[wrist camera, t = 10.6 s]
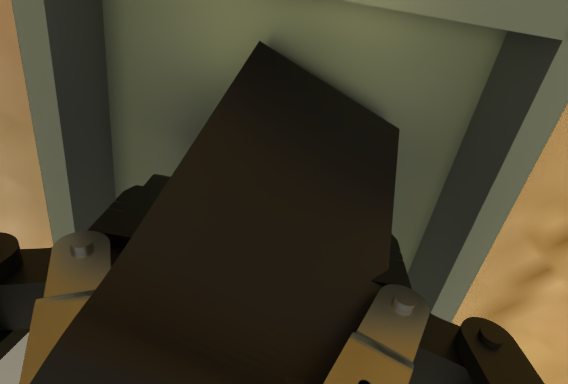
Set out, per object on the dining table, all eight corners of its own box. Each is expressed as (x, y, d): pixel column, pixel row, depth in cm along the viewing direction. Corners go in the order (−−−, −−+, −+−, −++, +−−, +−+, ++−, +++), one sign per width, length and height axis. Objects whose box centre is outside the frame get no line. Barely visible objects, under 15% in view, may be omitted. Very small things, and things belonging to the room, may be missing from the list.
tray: (111, 255, 22) (65, 315, 18) (83, -83, 14) (-7, -106, 10) (403, 307, 22) (421, 378, 18) (536, -1, 14) (618, 7, 10)
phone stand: (278, 276, 19) (227, 655, 8) (165, 218, 18) (-60, 572, 7) (398, 126, 15) (598, 497, 4) (261, 38, 14) (61, 245, 3)
